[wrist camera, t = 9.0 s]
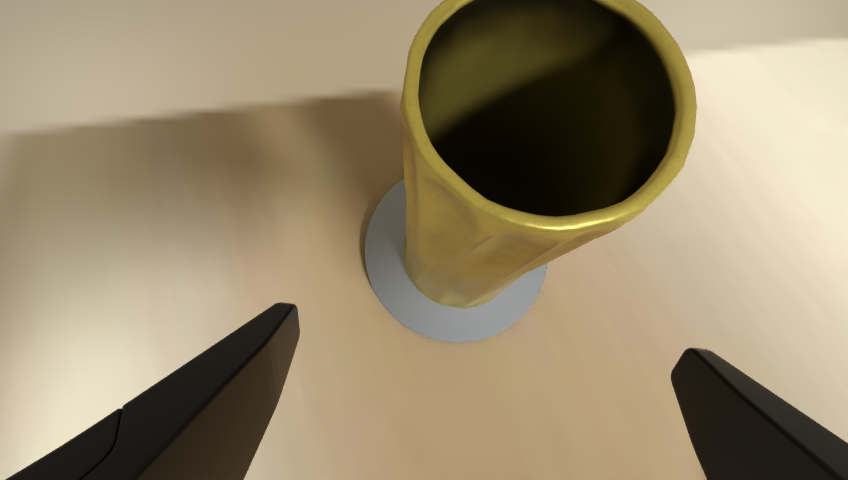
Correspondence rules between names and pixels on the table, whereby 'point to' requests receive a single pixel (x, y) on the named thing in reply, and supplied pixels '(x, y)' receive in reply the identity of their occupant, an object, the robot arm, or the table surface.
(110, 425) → the robot arm
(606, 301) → the table surface
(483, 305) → the mat
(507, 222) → the vase
